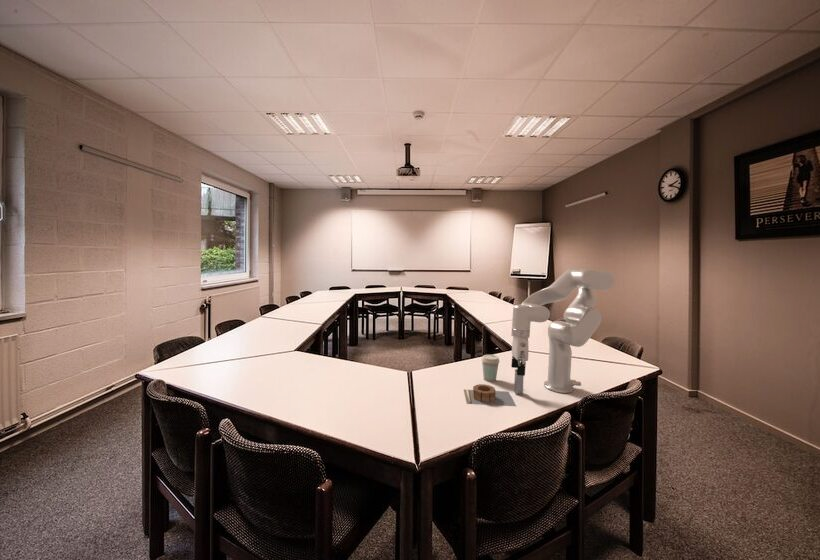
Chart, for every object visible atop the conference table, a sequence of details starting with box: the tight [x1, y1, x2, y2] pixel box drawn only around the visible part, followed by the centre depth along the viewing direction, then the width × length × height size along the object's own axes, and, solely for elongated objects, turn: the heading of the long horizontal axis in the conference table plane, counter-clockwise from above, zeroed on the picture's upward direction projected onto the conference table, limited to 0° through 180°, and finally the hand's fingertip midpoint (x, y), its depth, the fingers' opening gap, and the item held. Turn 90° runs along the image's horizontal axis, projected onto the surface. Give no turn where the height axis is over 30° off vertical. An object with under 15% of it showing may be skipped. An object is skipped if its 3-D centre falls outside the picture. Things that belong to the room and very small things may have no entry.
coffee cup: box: [481, 354, 500, 383], centre depth 158 cm, size 8×8×12 cm
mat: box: [463, 388, 517, 407], centre depth 138 cm, size 20×14×1 cm
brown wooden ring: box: [472, 383, 497, 403], centre depth 137 cm, size 9×9×4 cm
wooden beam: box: [513, 368, 525, 396], centre depth 142 cm, size 3×3×11 cm
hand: (517, 371), depth 141 cm, fingers open, 9 cm apart
